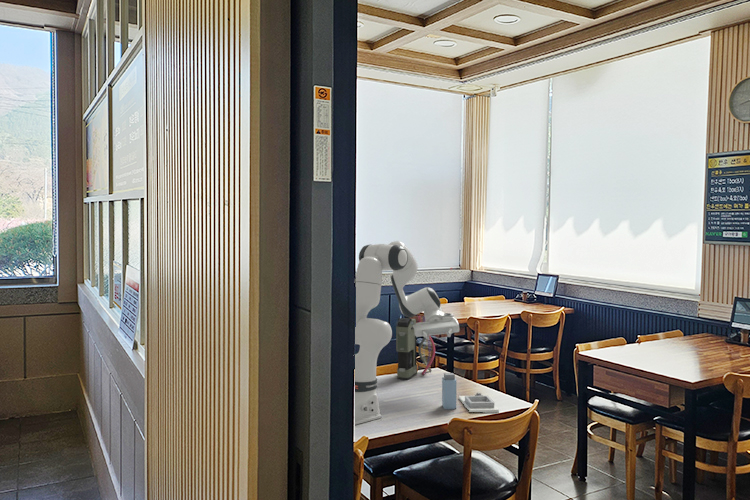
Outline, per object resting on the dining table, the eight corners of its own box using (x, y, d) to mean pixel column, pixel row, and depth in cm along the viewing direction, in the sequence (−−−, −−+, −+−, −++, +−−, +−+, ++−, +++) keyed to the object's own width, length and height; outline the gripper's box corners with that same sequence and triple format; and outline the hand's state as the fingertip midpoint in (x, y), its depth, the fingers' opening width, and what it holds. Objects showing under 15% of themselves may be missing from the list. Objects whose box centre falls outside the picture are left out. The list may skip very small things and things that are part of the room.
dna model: (414, 373, 295) (415, 316, 294) (423, 370, 302) (423, 313, 301) (430, 376, 290) (430, 317, 289) (438, 372, 297) (438, 315, 296)
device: (408, 380, 282) (408, 320, 281) (394, 378, 285) (394, 319, 284) (418, 373, 295) (418, 316, 294) (404, 372, 298) (404, 315, 297)
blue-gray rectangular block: (456, 408, 238) (456, 375, 237) (444, 409, 237) (444, 375, 237) (453, 405, 243) (453, 372, 242) (442, 405, 242) (442, 372, 242)
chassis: (498, 412, 233) (498, 404, 233) (469, 413, 232) (469, 405, 232) (485, 398, 253) (485, 390, 253) (458, 398, 252) (458, 391, 252)
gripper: (412, 318, 263) (413, 333, 250) (456, 313, 262) (460, 327, 249) (413, 330, 265) (415, 345, 252) (457, 325, 264) (461, 340, 251)
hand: (438, 336), depth 251 cm, fingers open, 8 cm apart
